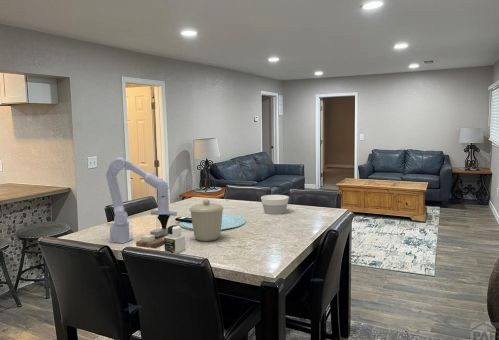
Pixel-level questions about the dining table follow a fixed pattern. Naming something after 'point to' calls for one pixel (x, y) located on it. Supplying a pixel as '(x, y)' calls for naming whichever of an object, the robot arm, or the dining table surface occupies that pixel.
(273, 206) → the bowl
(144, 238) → the cream key
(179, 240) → the medicine bottle
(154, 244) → the keypad board
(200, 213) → the canister
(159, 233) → the grey key
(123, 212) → the robot arm
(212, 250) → the dining table surface
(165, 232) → the sage key
